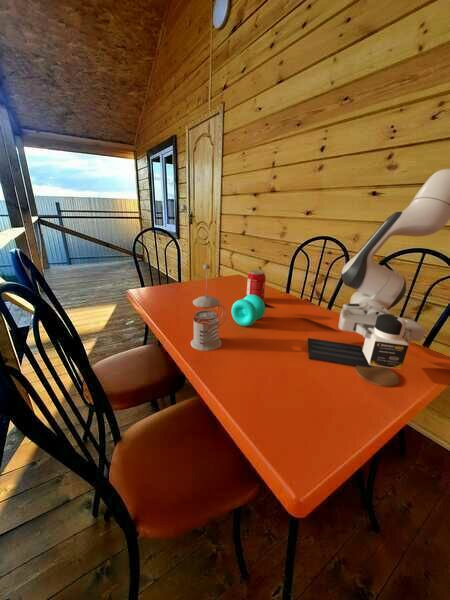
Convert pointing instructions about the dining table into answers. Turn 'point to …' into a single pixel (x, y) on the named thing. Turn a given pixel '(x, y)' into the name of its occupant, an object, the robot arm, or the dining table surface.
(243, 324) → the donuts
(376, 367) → the coaster
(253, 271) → the soda can
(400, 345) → the medicine bottle
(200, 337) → the french press
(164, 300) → the dining table surface
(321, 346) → the scrub mat
